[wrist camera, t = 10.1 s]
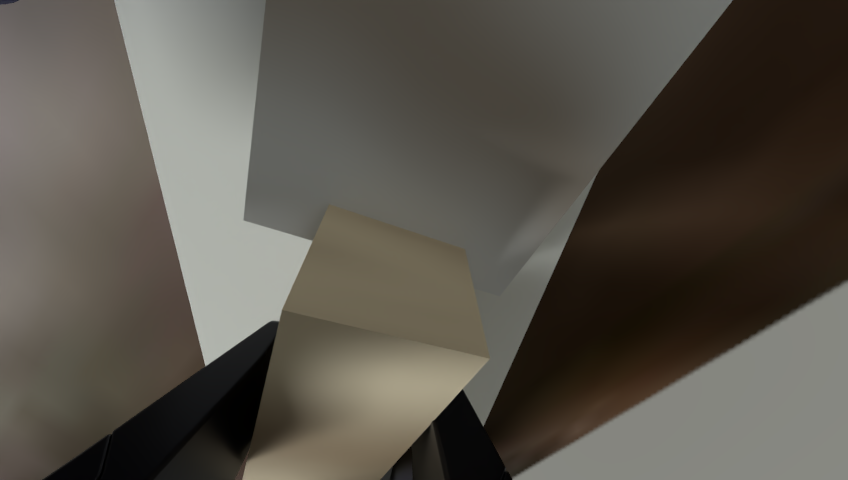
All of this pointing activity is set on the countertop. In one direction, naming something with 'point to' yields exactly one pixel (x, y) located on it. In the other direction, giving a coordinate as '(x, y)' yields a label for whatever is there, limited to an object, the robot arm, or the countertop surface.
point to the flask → (7, 1)
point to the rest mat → (228, 172)
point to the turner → (425, 192)
